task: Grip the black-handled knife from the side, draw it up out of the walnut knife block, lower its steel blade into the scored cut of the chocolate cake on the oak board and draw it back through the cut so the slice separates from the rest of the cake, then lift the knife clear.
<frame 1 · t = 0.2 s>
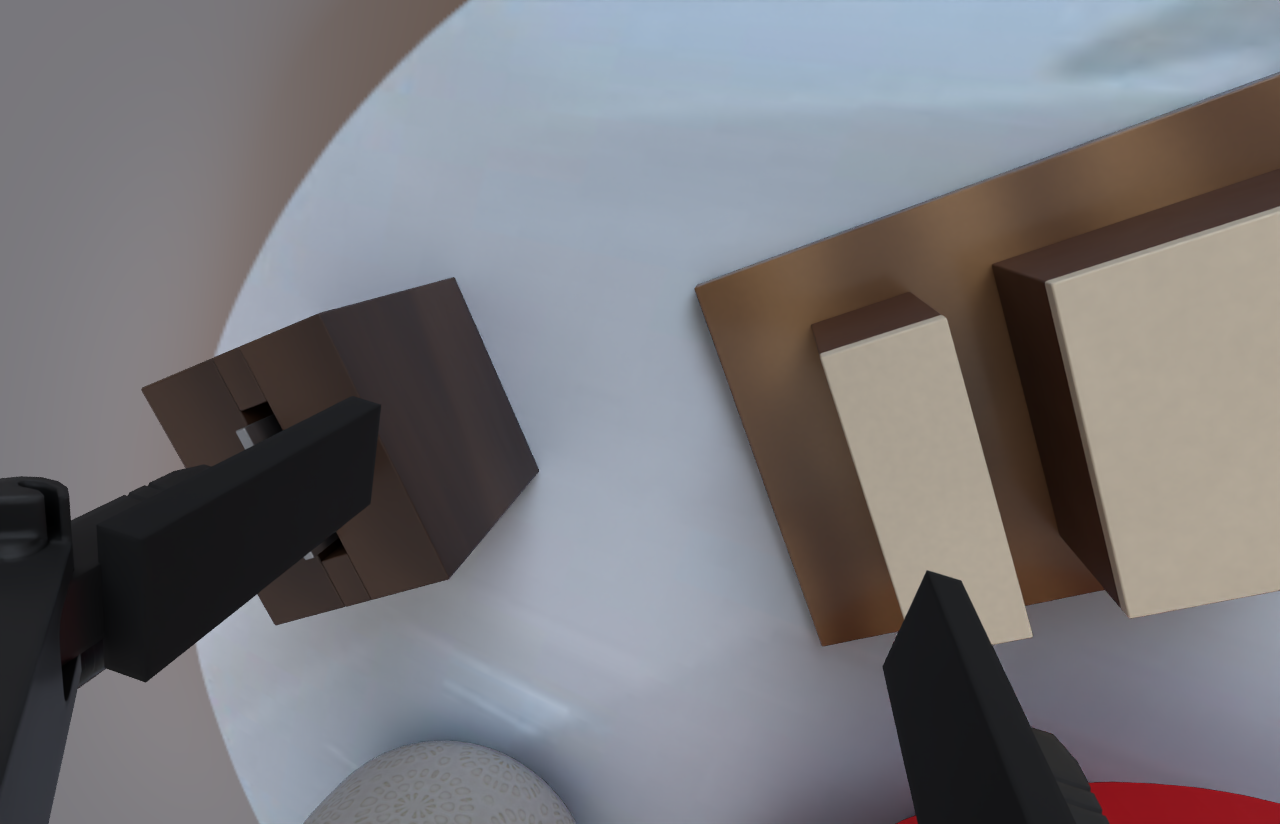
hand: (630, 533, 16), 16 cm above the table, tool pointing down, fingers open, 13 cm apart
cake slice: (899, 441, 29), point 1 cm above the table, touching cake board
knife: (418, 408, 32), point 1 cm above the table, touching knife block
cake board: (1070, 385, 28), on the table
planter: (482, 810, 41), on the table, touching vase
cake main: (1081, 391, 27), point 1 cm above the table, touching cake board
knife block: (428, 402, 33), on the table
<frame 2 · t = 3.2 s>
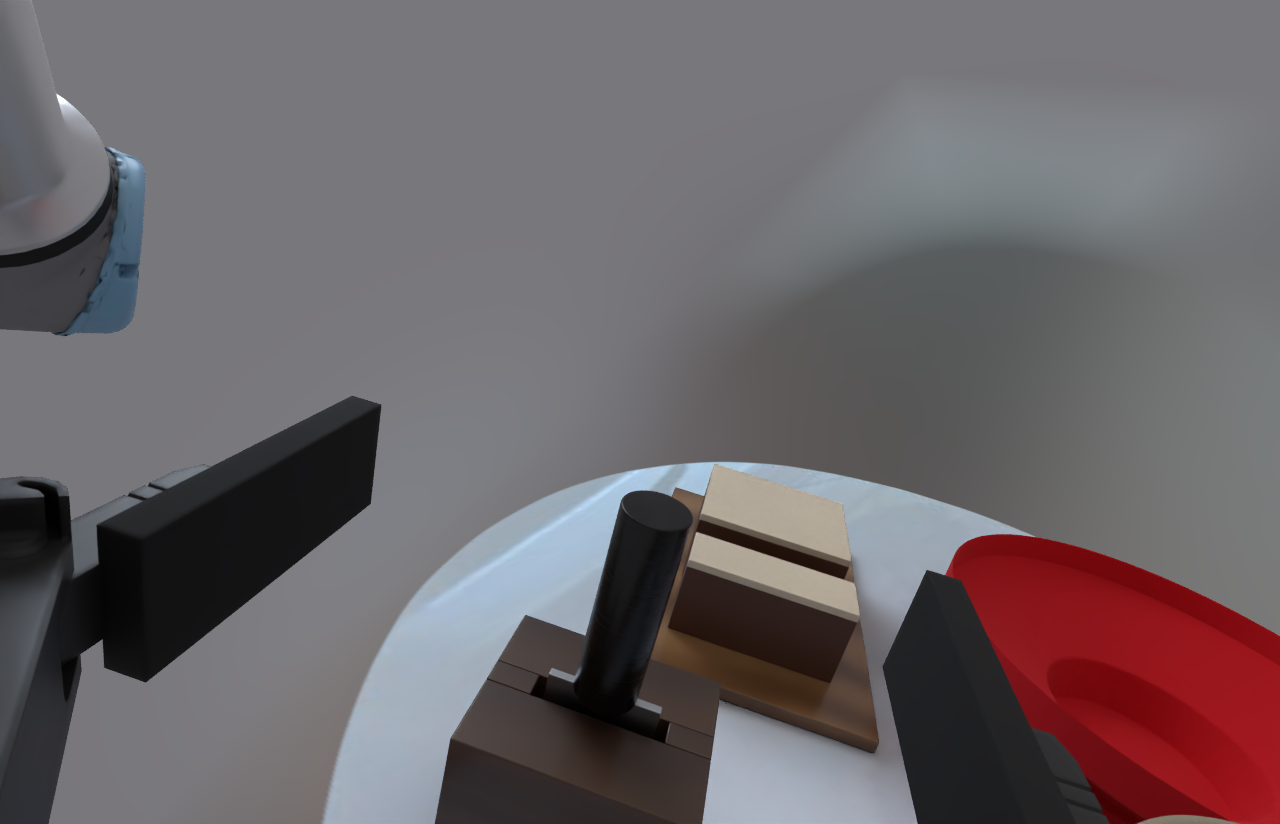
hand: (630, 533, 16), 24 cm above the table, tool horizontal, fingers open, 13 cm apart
cake slice: (749, 638, 50), point 1 cm above the table, touching cake board
cake board: (750, 595, 57), on the table
bowl: (1115, 774, 48), on the table
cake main: (754, 585, 57), point 1 cm above the table, touching cake board
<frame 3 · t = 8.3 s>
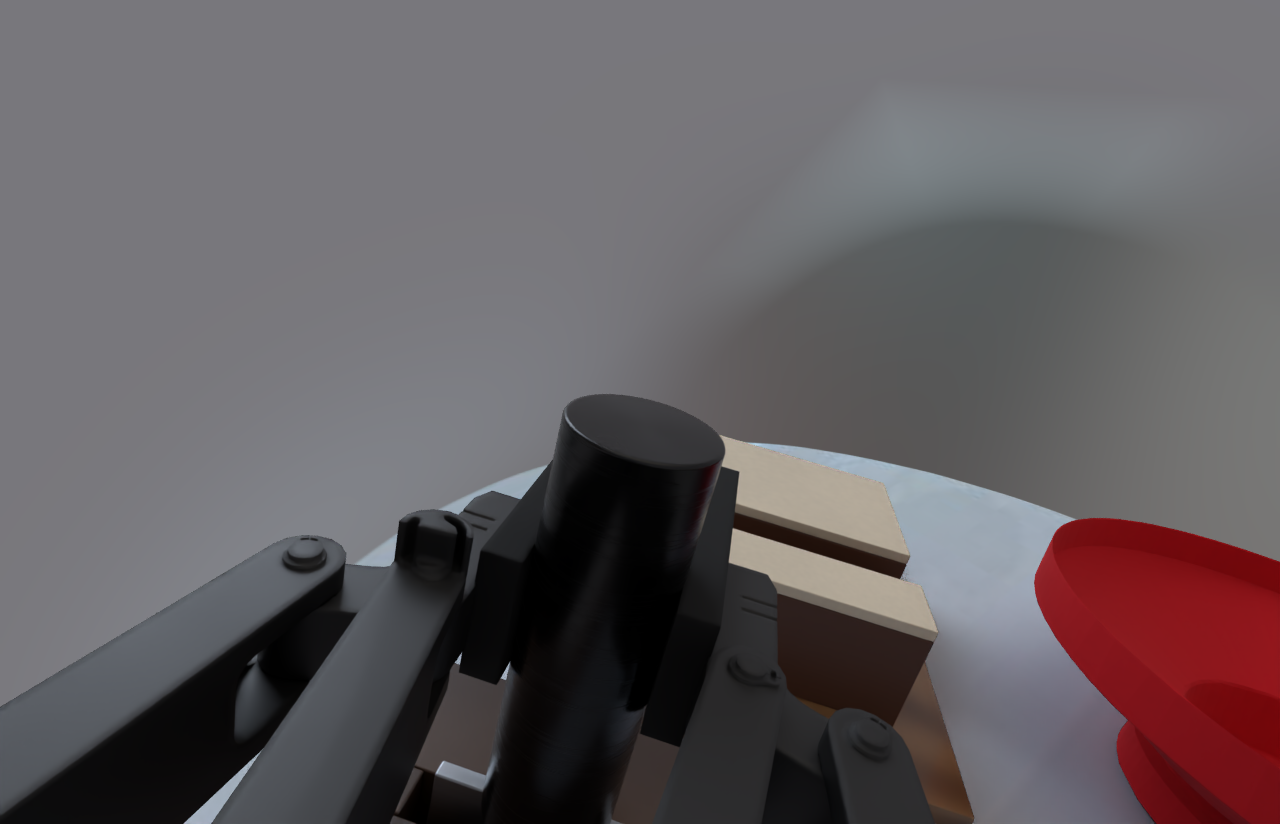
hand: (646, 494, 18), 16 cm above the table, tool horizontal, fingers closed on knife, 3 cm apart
cake slice: (774, 664, 36), point 1 cm above the table, touching cake board
cake board: (769, 603, 43), on the table
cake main: (774, 590, 43), point 1 cm above the table, touching cake board
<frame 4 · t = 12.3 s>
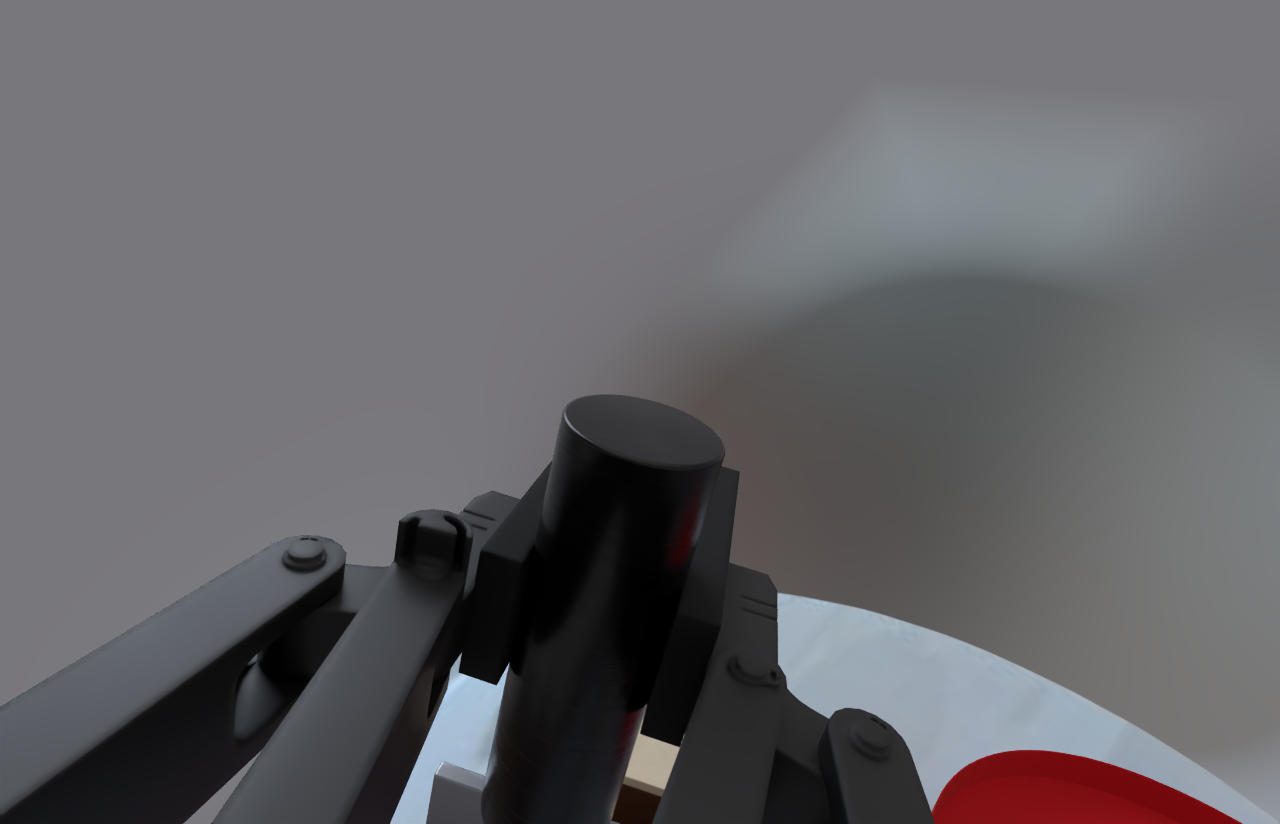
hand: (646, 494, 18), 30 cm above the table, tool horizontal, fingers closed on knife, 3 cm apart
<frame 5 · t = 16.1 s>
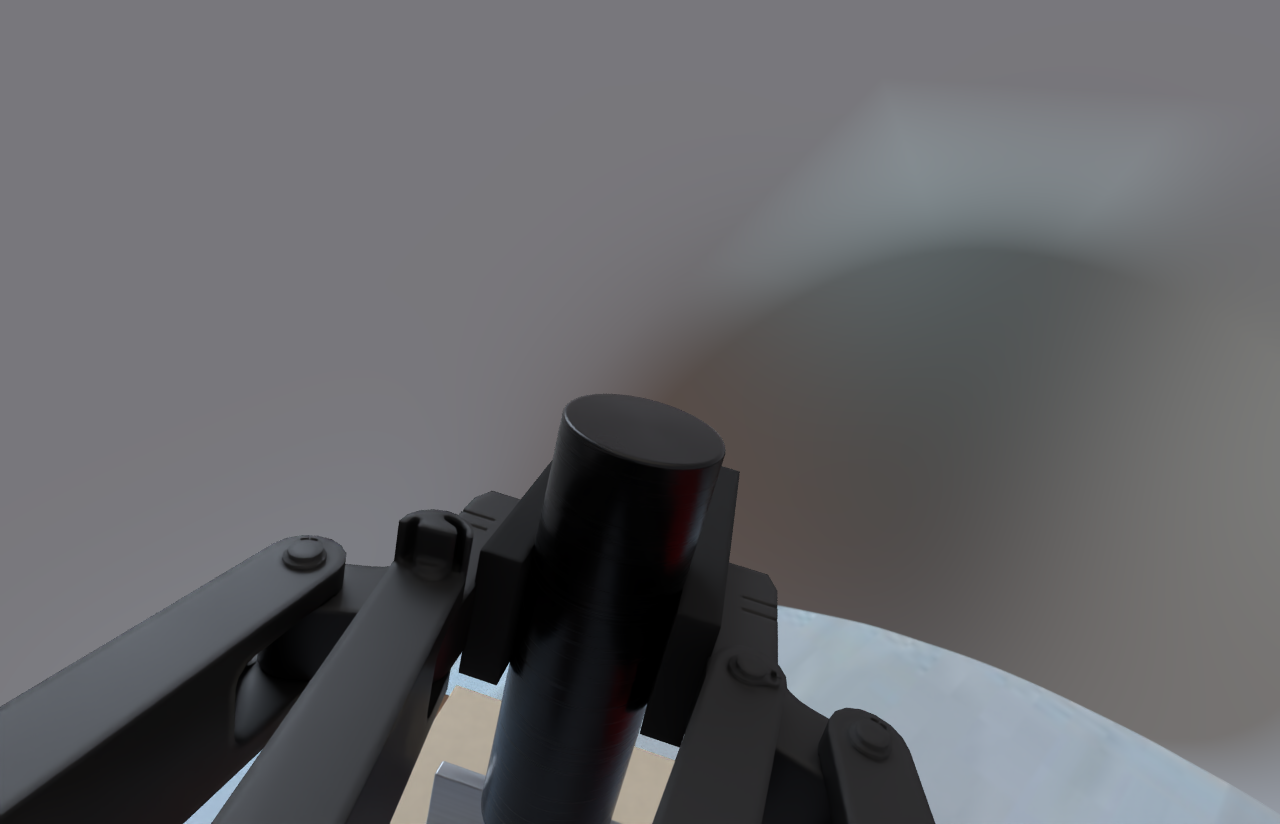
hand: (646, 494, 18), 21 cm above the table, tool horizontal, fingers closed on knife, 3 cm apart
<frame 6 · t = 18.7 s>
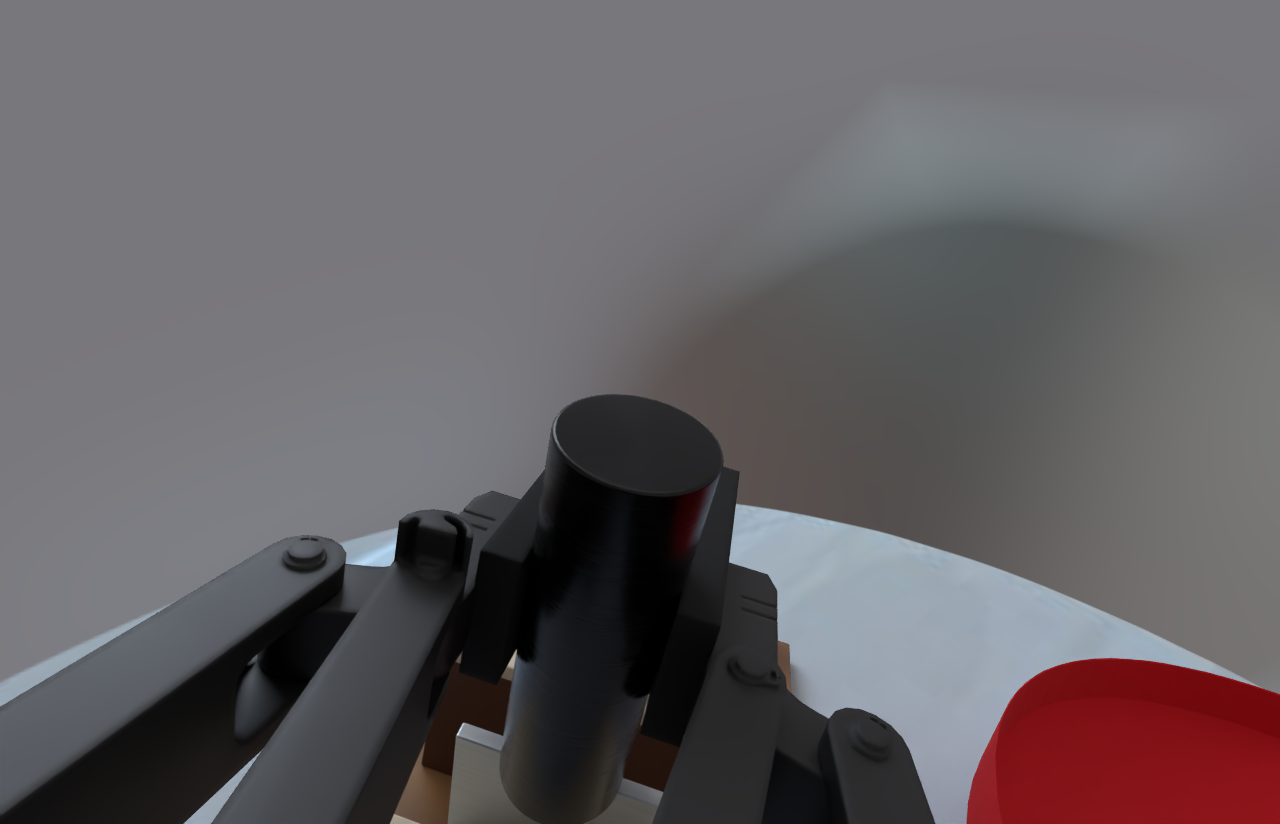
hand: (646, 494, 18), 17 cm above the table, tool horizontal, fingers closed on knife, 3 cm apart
cake board: (575, 792, 28), on the table
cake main: (580, 775, 28), point 1 cm above the table, touching cake board
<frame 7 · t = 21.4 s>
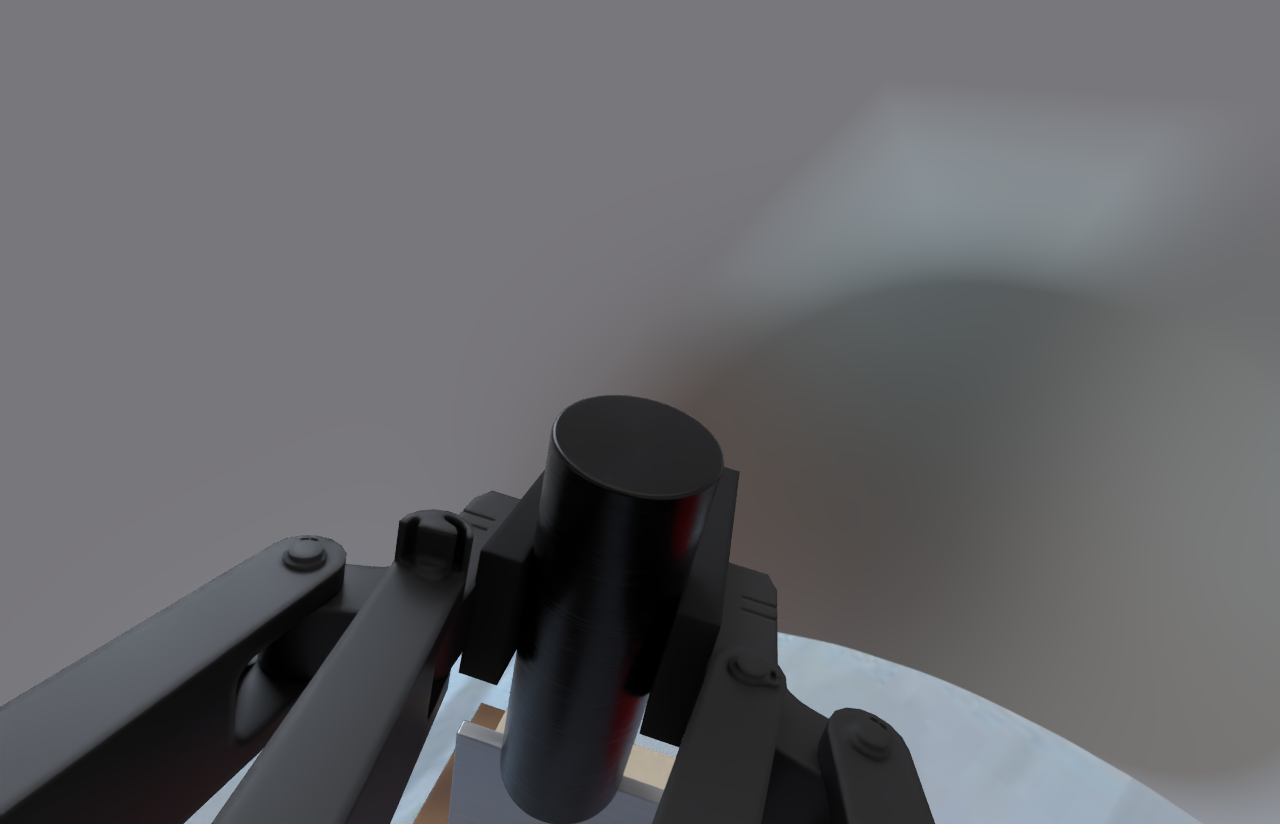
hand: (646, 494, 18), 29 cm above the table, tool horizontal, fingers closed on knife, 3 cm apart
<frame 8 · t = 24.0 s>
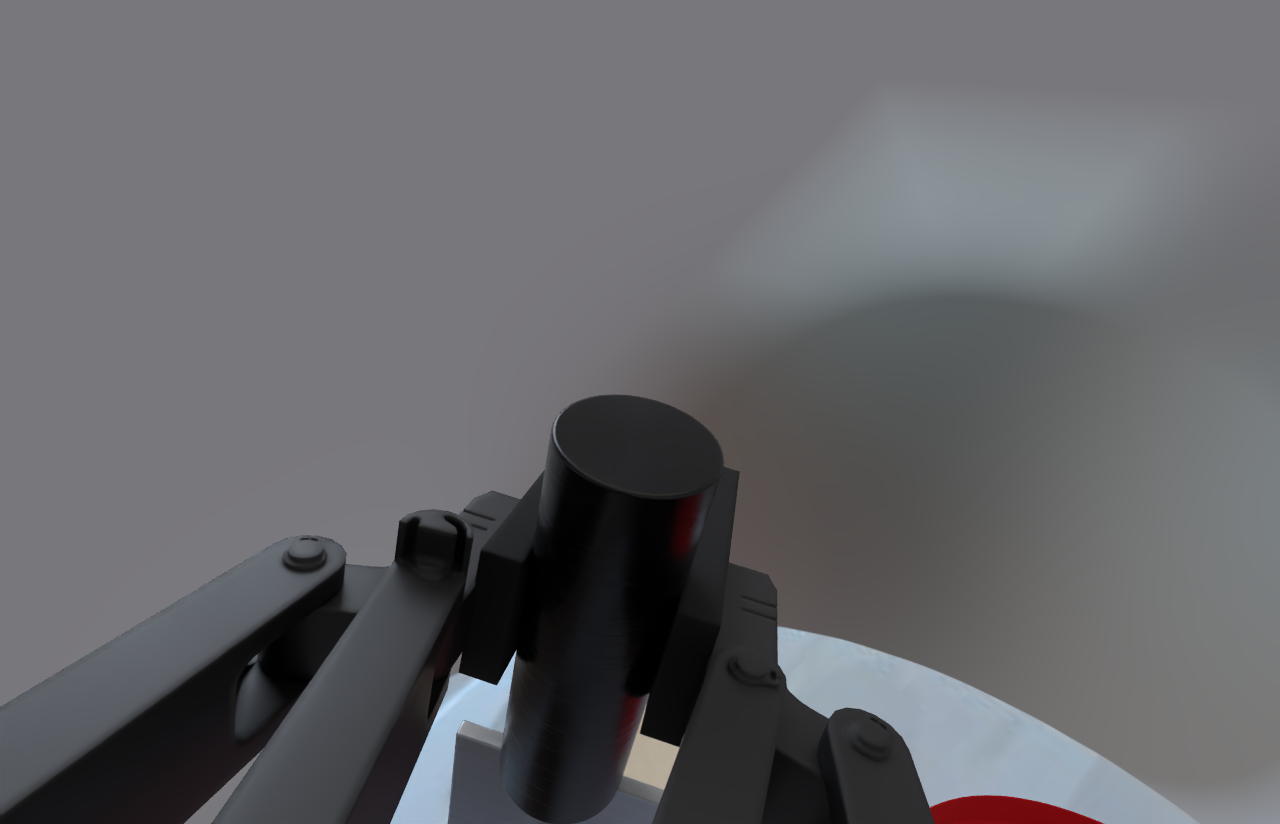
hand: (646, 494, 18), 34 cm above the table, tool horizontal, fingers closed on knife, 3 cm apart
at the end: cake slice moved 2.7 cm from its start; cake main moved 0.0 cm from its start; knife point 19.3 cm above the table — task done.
